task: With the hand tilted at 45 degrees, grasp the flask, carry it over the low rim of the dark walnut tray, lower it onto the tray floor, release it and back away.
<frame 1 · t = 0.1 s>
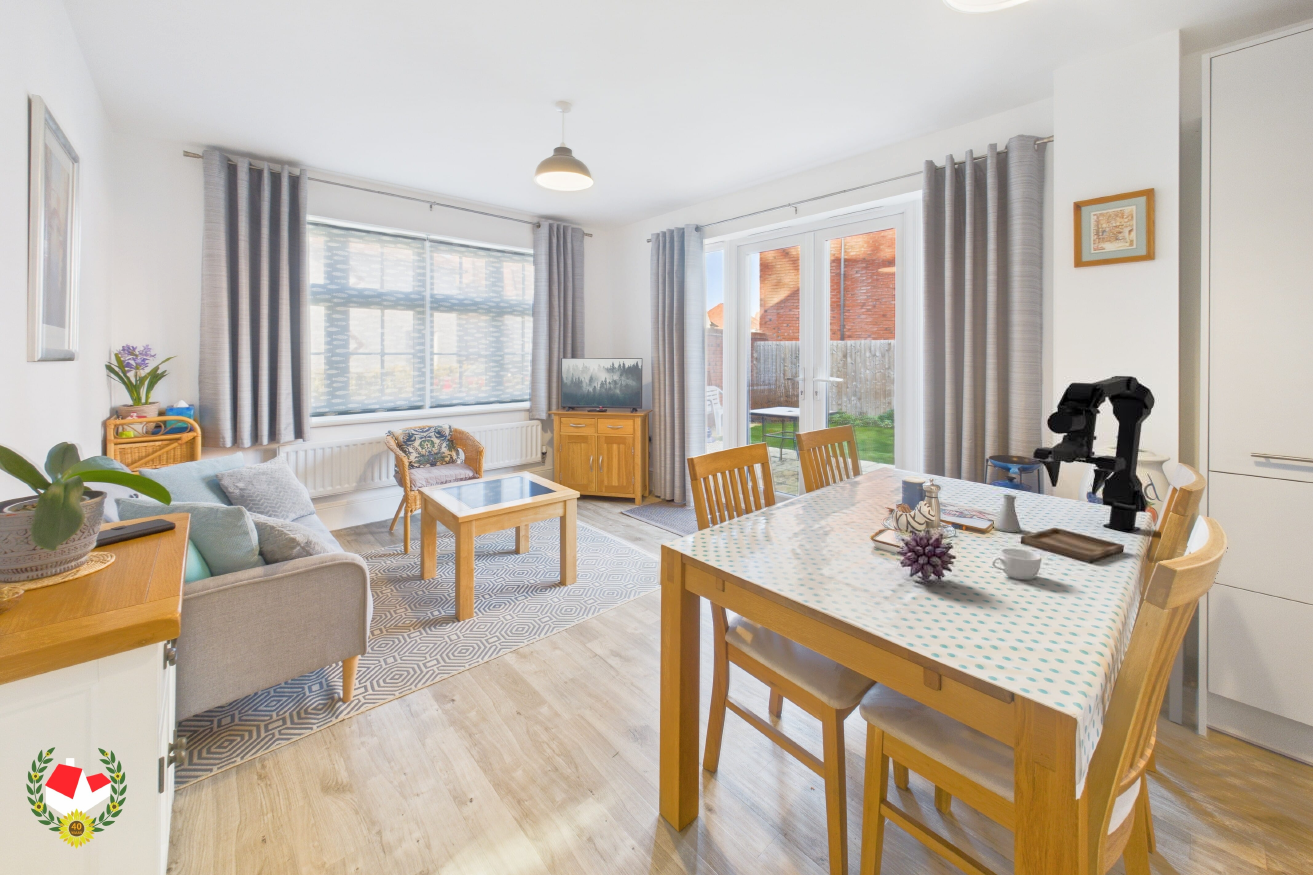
hand: (1073, 490, 142), 15 cm above the table, tool pointing down, fingers open, 9 cm apart
teacup: (1013, 577, 123), on the table
flower: (923, 580, 121), on the table
walnut tray: (1070, 547, 141), on the table
flask: (1006, 529, 157), on the table
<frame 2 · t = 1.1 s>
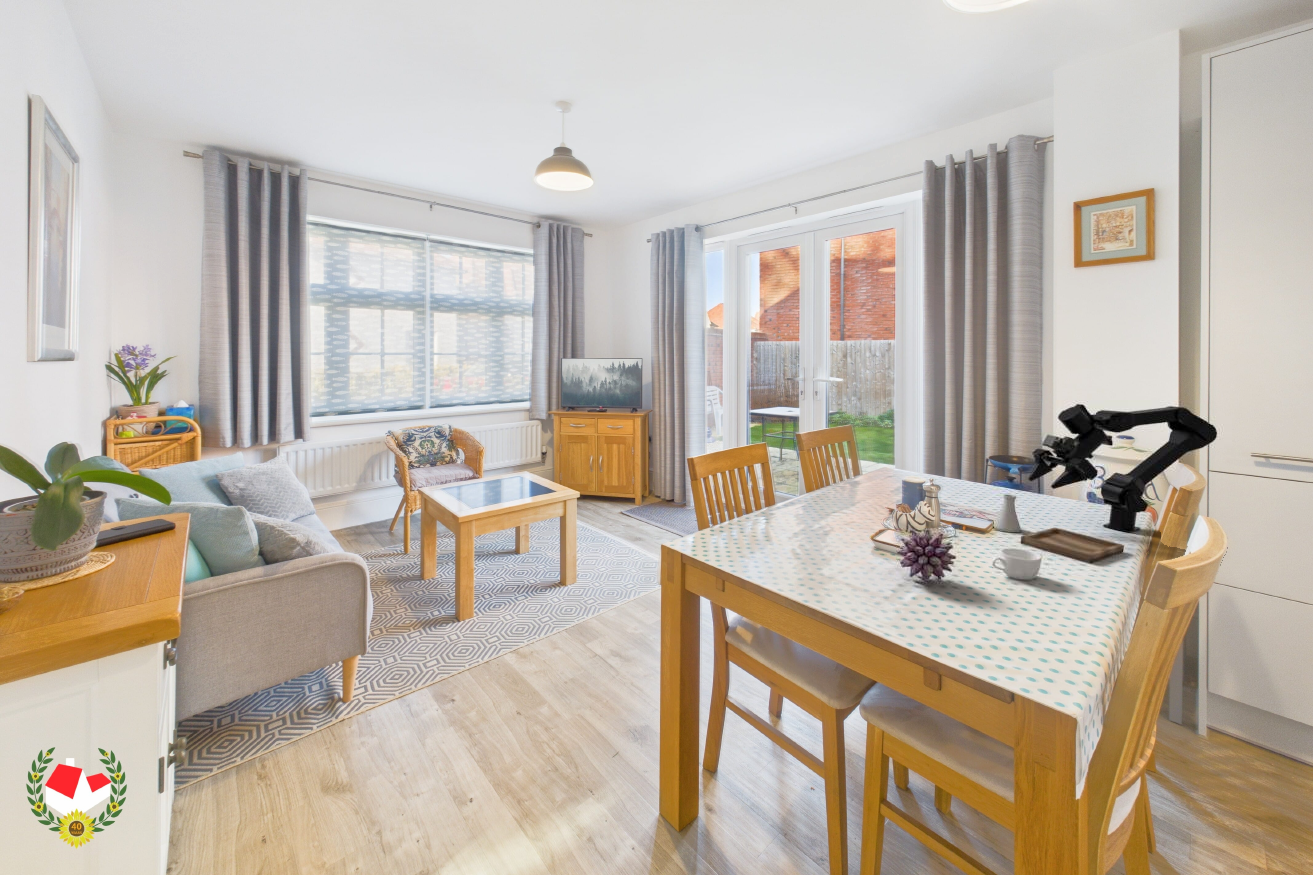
hand: (1040, 483, 155), 13 cm above the table, tool tilted 45°, fingers open, 9 cm apart
nothing on the table moved.
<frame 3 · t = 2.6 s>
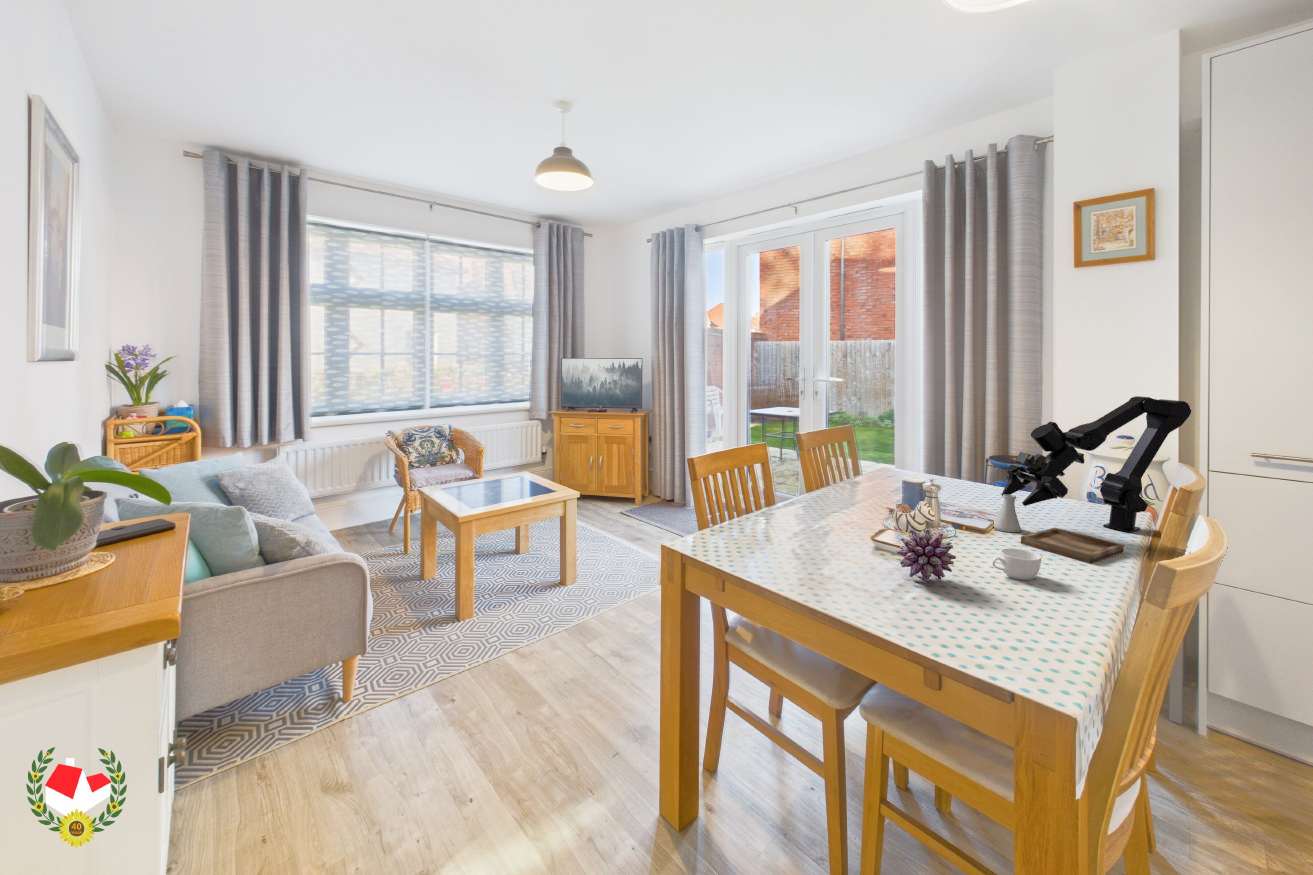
hand: (1012, 500, 155), 9 cm above the table, tool tilted 45°, fingers open, 9 cm apart
nothing on the table moved.
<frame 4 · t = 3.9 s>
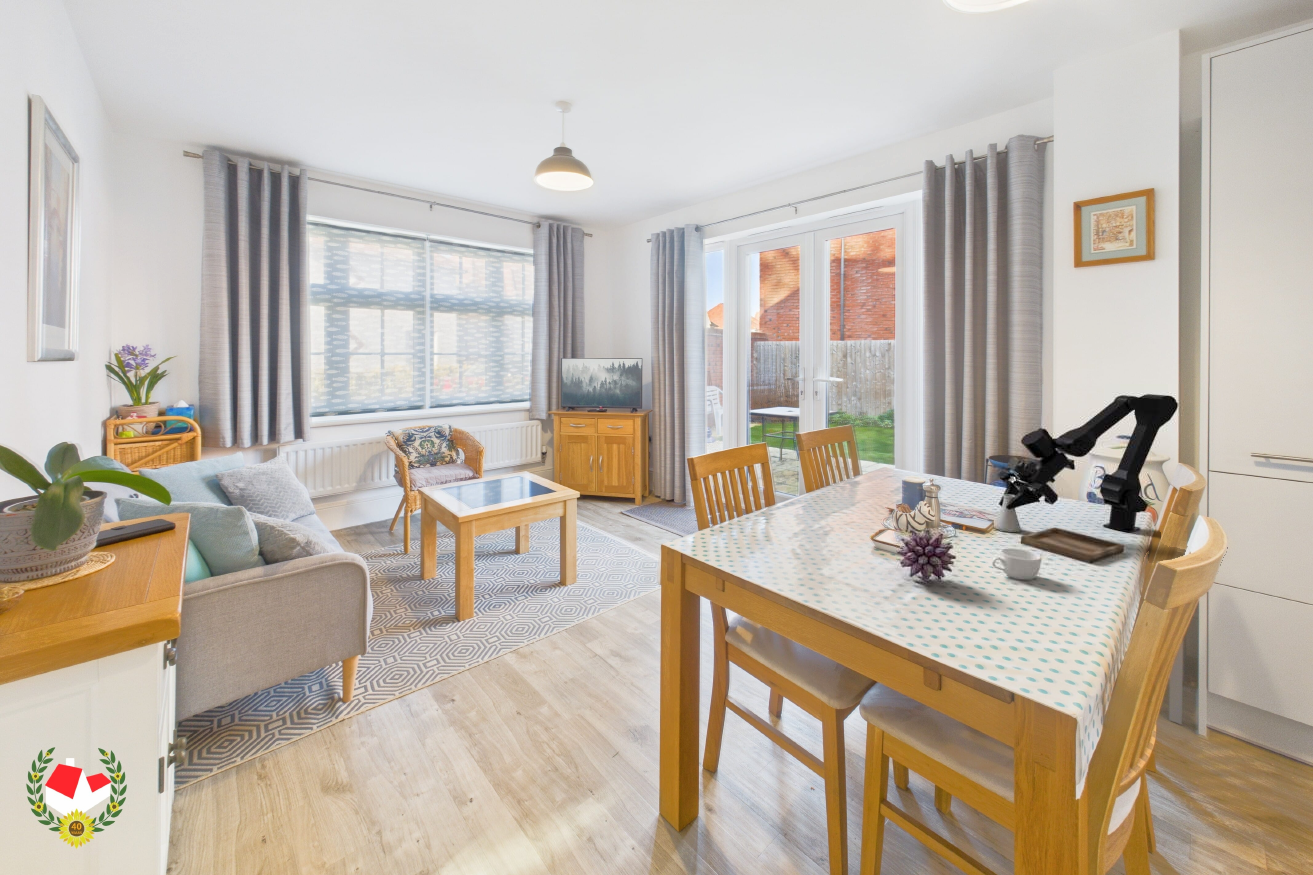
hand: (1003, 506, 156), 7 cm above the table, tool tilted 45°, fingers closed on flask, 3 cm apart
flask: (1006, 529, 157), on the table, touching gripper
everything else where it was.
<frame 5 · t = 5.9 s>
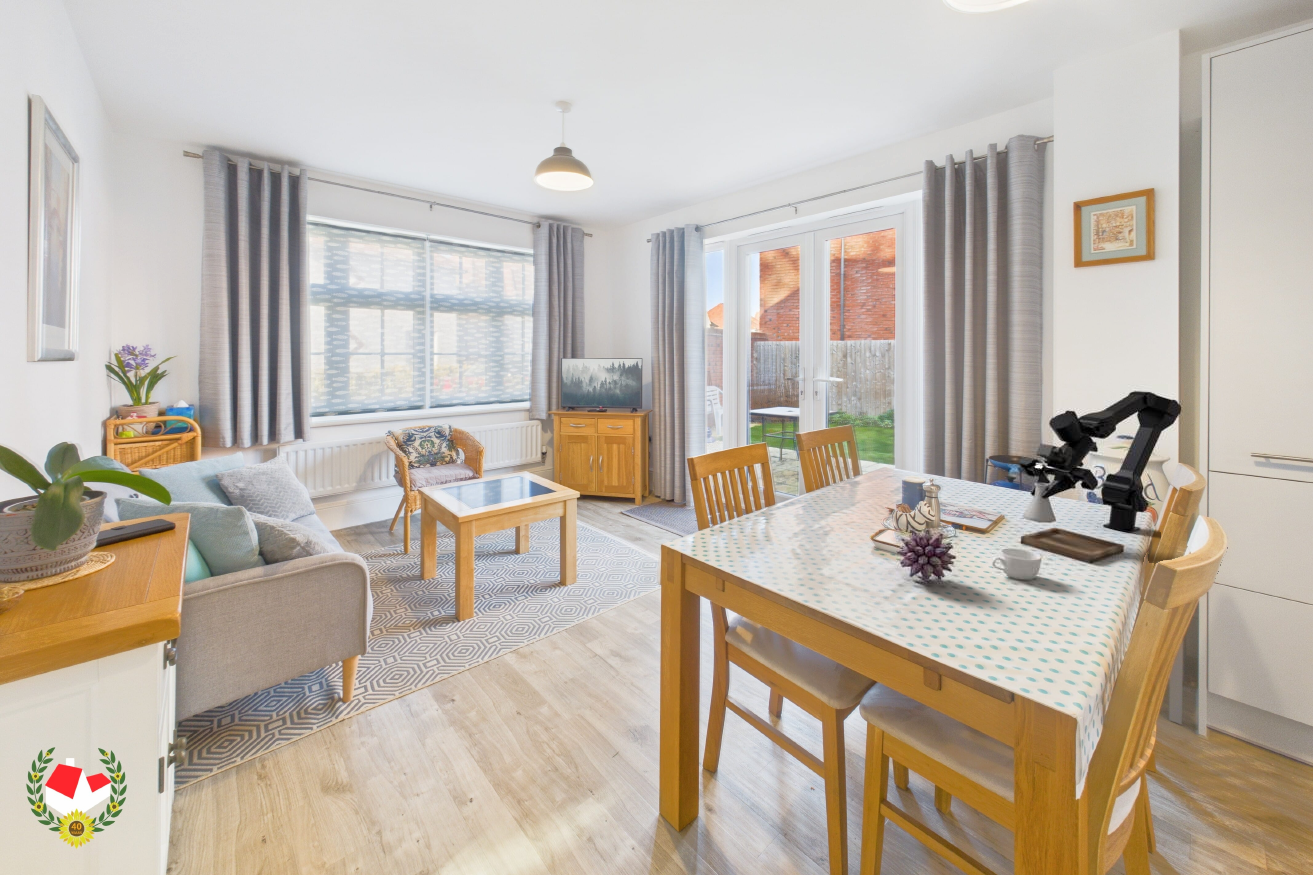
hand: (1037, 496, 146), 12 cm above the table, tool tilted 45°, fingers closed on flask, 3 cm apart
flask: (1038, 520, 147), point 5 cm above the table, touching gripper
everything else where it was.
when the fingers open (9 cm above the table, at t = 7.5 s): flask drops 1 cm, resting on walnut tray.
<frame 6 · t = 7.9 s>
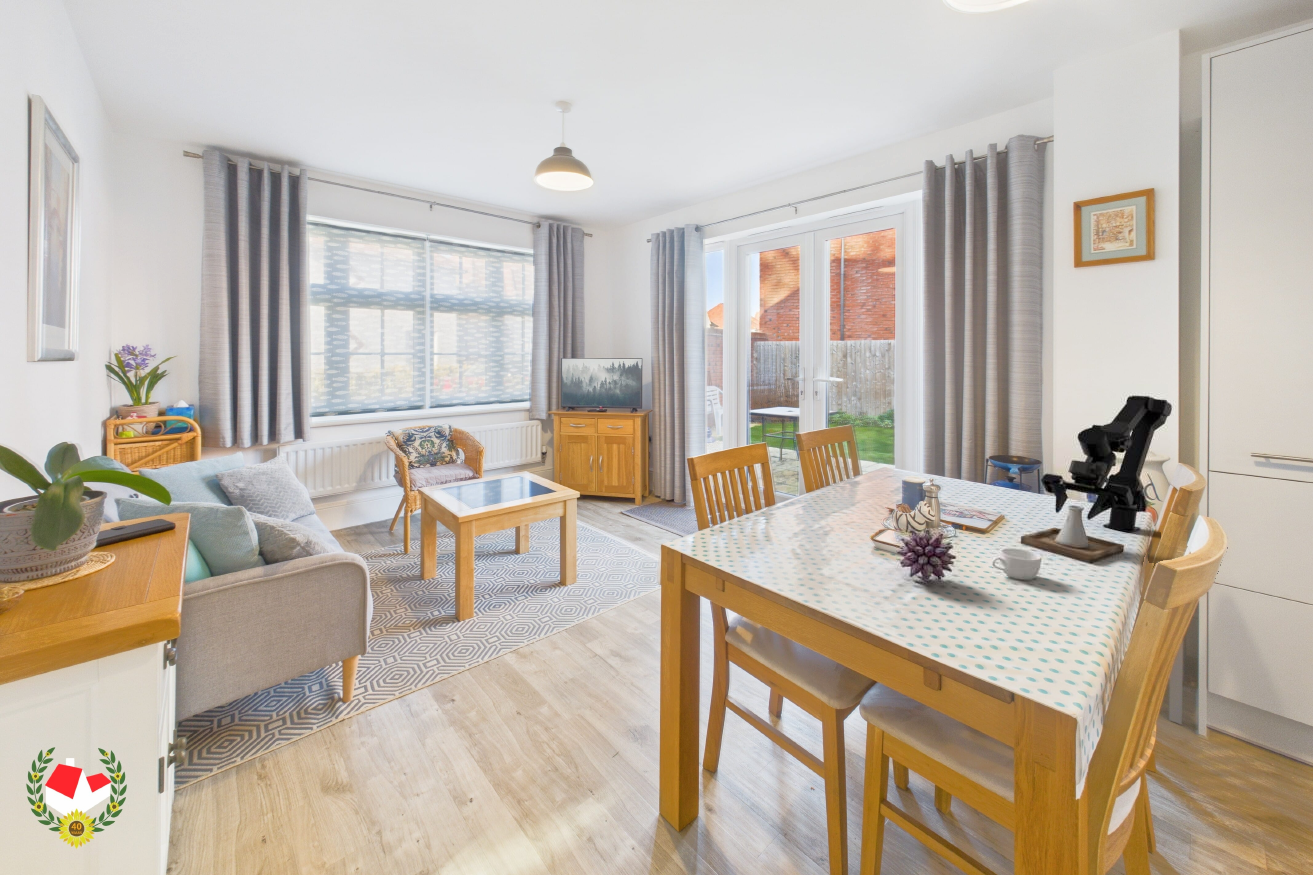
hand: (1072, 515, 139), 9 cm above the table, tool tilted 45°, fingers open, 7 cm apart
flask: (1071, 544, 141), point 1 cm above the table, touching walnut tray
everything else where it was.
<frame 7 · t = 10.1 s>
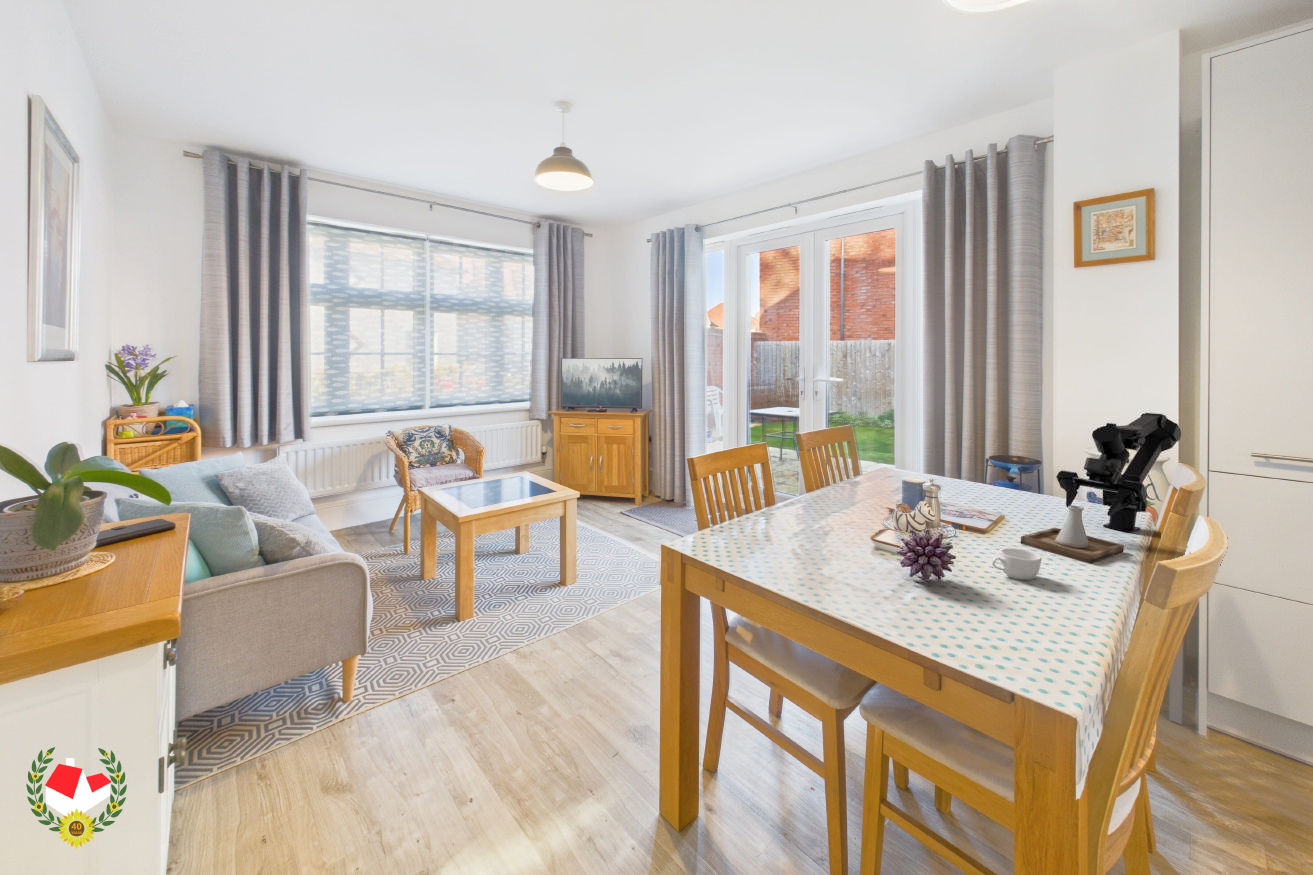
hand: (1087, 510, 144), 9 cm above the table, tool tilted 45°, fingers open, 9 cm apart
nothing on the table moved.
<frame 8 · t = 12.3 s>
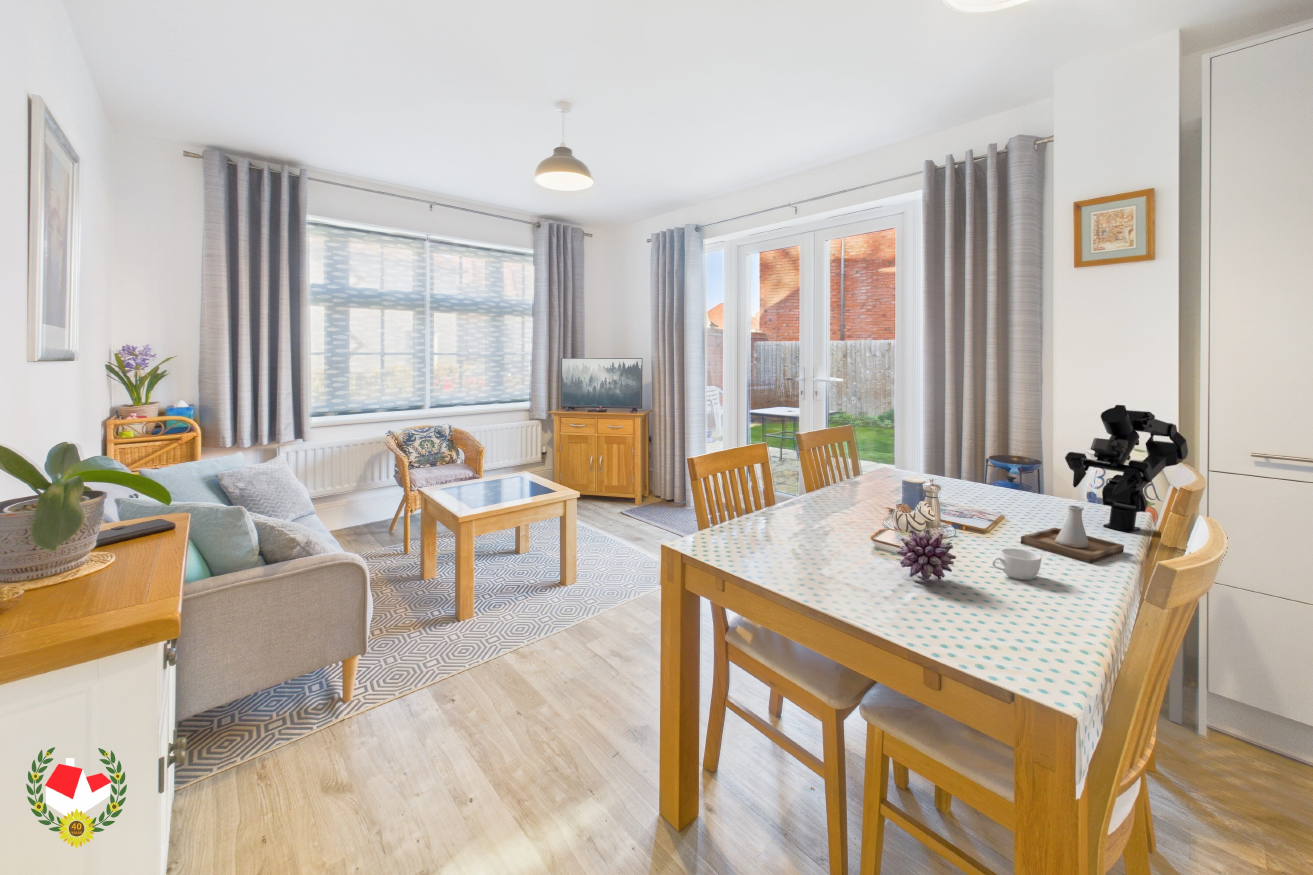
hand: (1093, 490, 147), 14 cm above the table, tool tilted 45°, fingers open, 9 cm apart
nothing on the table moved.
at the end: flask inside the target area on the walnut tray (0.2 cm from its centre), point 0.8 cm above the walnut tray's base; flask tilted 0°; the gripper is holding nothing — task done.
